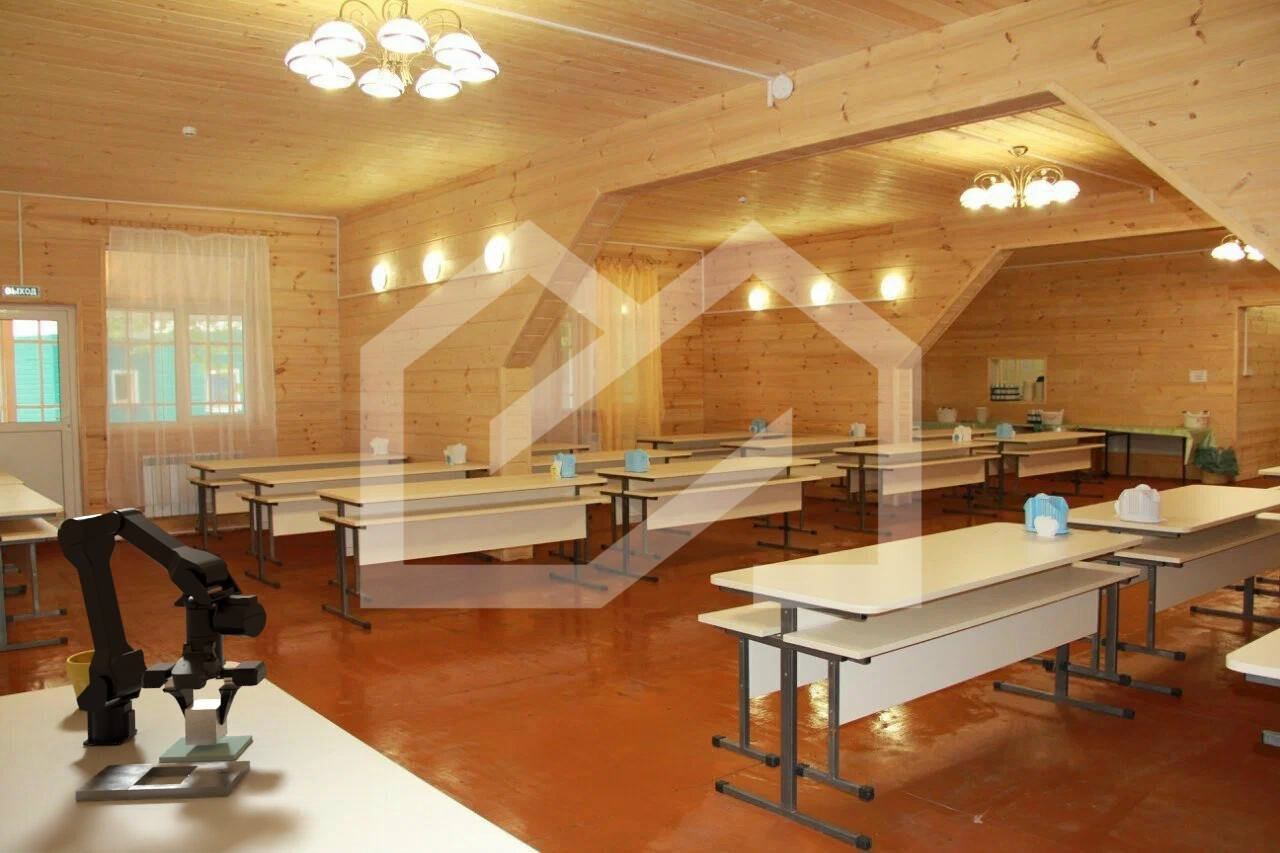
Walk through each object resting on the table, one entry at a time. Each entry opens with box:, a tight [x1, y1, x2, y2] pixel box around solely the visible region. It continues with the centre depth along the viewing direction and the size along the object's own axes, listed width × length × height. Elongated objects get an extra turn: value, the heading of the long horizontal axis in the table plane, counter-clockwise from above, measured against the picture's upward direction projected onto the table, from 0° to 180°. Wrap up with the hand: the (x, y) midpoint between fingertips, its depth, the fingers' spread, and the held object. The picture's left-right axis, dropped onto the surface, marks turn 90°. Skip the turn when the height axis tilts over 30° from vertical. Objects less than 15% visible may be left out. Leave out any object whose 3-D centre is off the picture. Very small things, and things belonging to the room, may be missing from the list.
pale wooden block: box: [184, 698, 228, 745], centre depth 163 cm, size 5×5×6 cm
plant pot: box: [65, 649, 95, 699], centre depth 186 cm, size 10×10×10 cm
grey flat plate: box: [75, 760, 251, 802], centre depth 149 cm, size 22×10×2 cm, turn 94°
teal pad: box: [158, 735, 253, 763], centre depth 163 cm, size 12×9×1 cm
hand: (206, 724), depth 163 cm, fingers closed on pale wooden block, 5 cm apart
